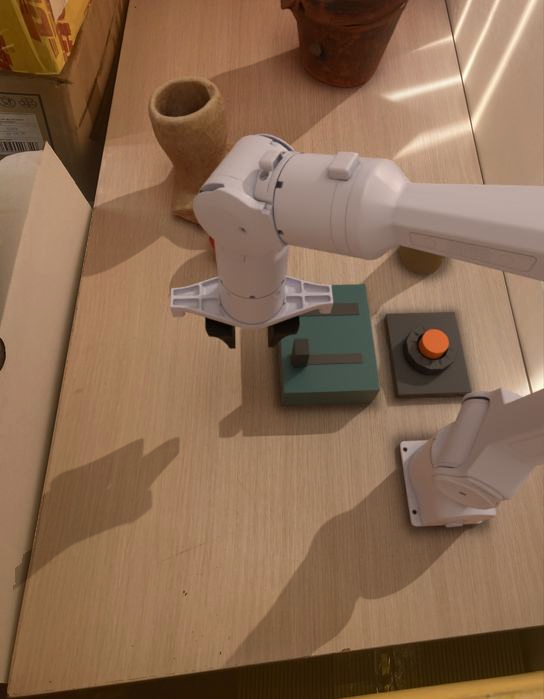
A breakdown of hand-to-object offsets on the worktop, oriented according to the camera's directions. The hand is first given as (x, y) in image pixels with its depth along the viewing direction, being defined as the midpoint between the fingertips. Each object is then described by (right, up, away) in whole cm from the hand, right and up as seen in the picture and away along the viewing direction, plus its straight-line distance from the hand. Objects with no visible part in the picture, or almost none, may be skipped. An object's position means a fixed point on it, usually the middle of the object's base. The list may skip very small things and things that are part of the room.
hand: (251, 339), depth 56 cm
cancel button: (+22, -1, +9) cm, 23 cm away
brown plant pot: (+13, +47, +33) cm, 59 cm away
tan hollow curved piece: (-8, +22, +21) cm, 31 cm away
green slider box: (+8, -1, +11) cm, 14 cm away
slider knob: (+5, -2, +5) cm, 8 cm away
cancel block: (+21, -2, +11) cm, 24 cm away
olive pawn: (+23, +12, +18) cm, 31 cm away
